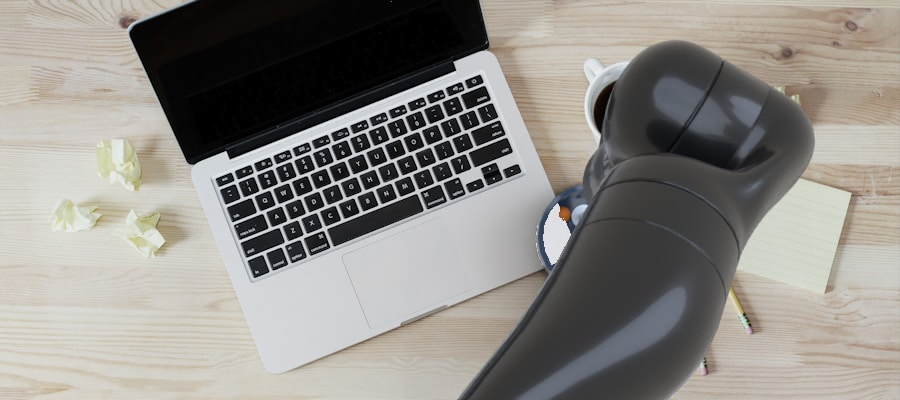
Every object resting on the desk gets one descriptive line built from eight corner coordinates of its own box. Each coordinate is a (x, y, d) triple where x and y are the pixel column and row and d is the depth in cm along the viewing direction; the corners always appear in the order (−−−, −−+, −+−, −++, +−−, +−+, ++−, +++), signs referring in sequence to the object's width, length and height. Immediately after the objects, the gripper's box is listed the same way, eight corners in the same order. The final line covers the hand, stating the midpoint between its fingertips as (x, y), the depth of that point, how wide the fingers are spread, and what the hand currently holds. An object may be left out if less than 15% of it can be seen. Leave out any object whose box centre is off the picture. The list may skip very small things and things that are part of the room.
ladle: (595, 230, 87) (628, 212, 68) (570, 230, 88) (595, 212, 68) (595, 204, 88) (627, 180, 68) (569, 205, 88) (594, 180, 68)
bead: (572, 222, 86) (560, 211, 85) (559, 229, 87) (548, 218, 87) (575, 211, 87) (564, 200, 87) (563, 217, 89) (552, 206, 88)
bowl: (640, 291, 87) (649, 291, 82) (535, 292, 88) (538, 292, 83) (636, 188, 89) (645, 183, 84) (533, 190, 89) (536, 184, 84)
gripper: (587, 87, 57) (563, 135, 74) (592, 267, 55) (566, 273, 72) (687, 86, 56) (639, 134, 73) (694, 267, 55) (643, 272, 72)
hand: (603, 203), depth 73 cm, fingers closed on ladle, 1 cm apart
